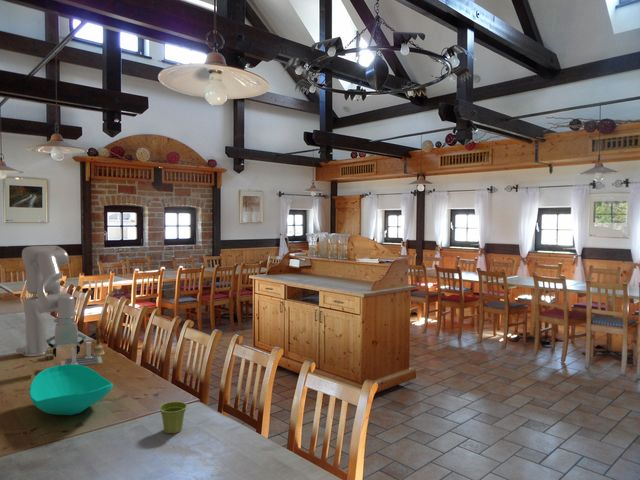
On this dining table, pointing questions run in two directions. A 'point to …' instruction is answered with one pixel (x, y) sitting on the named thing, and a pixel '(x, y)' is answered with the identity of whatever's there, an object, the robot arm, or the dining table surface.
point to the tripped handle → (74, 355)
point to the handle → (88, 349)
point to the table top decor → (68, 389)
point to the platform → (49, 353)
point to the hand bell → (98, 344)
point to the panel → (84, 360)
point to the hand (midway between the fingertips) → (66, 354)
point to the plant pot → (173, 416)
